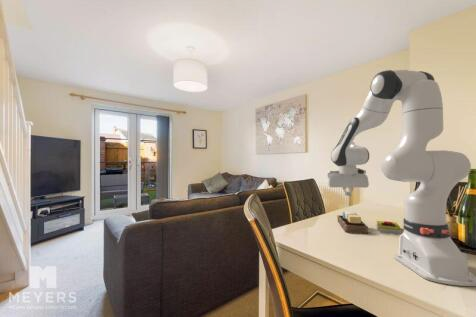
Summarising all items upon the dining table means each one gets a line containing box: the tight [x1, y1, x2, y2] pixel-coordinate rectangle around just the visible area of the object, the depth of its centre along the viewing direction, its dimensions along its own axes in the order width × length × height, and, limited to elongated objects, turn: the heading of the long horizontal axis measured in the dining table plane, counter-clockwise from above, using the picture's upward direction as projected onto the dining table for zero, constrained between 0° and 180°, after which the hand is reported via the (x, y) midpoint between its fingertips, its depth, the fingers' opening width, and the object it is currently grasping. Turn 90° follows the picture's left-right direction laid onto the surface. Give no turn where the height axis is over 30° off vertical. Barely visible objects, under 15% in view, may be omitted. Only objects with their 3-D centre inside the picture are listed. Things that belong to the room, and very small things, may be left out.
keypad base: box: [337, 214, 369, 235], centre depth 117 cm, size 20×10×3 cm, turn 166°
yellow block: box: [348, 214, 362, 224], centre depth 111 cm, size 4×5×4 cm
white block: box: [344, 211, 358, 220], centre depth 117 cm, size 4×5×4 cm
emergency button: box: [375, 220, 402, 236], centre depth 111 cm, size 9×4×15 cm
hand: (348, 195), depth 122 cm, fingers closed
